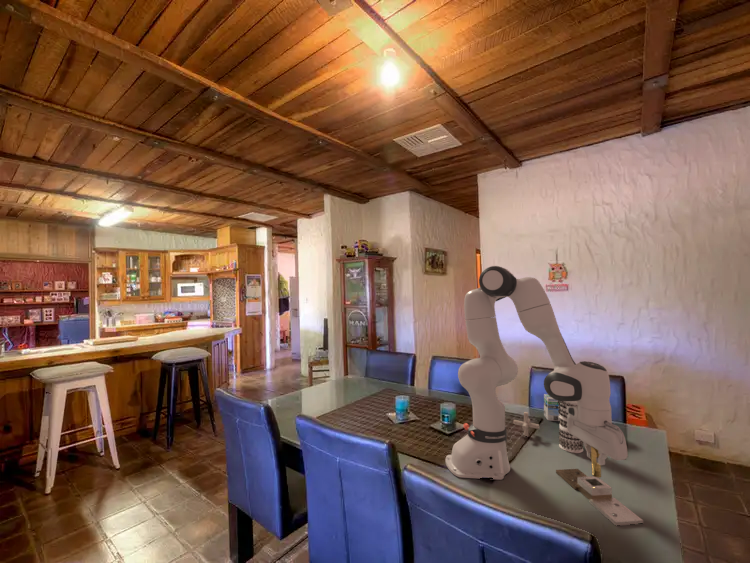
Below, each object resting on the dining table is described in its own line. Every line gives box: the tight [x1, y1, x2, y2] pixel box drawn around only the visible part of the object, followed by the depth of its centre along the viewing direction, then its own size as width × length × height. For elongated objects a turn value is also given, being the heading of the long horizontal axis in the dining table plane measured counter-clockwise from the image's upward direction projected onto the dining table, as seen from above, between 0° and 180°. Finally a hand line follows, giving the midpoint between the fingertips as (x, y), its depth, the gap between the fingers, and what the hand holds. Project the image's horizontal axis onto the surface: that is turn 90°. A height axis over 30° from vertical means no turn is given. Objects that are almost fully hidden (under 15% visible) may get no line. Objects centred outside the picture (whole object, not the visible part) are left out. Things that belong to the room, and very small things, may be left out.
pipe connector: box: [513, 411, 540, 438], centre depth 149 cm, size 10×10×10 cm
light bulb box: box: [543, 393, 560, 422], centre depth 168 cm, size 11×7×11 cm, turn 81°
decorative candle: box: [558, 401, 584, 454], centre depth 138 cm, size 9×9×25 cm
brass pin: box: [590, 446, 602, 479], centre depth 106 cm, size 2×2×9 cm
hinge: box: [555, 468, 644, 527], centre depth 107 cm, size 26×8×4 cm, turn 5°
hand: (595, 461), depth 106 cm, fingers closed on brass pin, 2 cm apart
